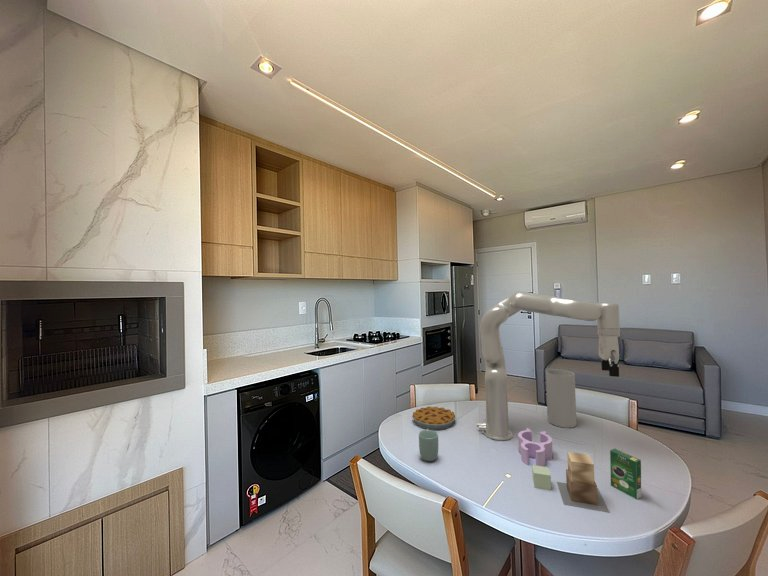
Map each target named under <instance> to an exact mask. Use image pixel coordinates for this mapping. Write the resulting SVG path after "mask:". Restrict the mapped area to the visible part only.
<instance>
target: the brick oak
mask: <svg viewBox="0 0 768 576" xmlns="http://www.w3.org/2000/svg"><path fill="white" fill-rule="evenodd" d="M566 455H567V469H568V472H569V474H570V477H571V479H572V481H577V482H583V483H589V484H595V483H596V481H595V464H594V462H593V460H592V459H591V457H590V455H589V454H586V453H577V452H569V451H567V453H566ZM594 481H595V482H594Z"/></svg>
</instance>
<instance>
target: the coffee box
mask: <svg viewBox="0 0 768 576" xmlns="http://www.w3.org/2000/svg"><path fill="white" fill-rule="evenodd" d="M609 451H610V452H609V455H610V457H609V458H610V459H609V461H610V463H609V464H610V465H609V466H610V467H609V469H610V486H611V487H613V489H614V488H615V489H616V490H618V491H620V492H622V493H624V494H625V495H628V496H629V497H631V498H633V499H634V500H638V499H641V497H642V460H641V459H639V458H637V457H635V456H632V455H630V454H629V453H626V452H624V451H622V450H619V449H617V448H612V449H610V450H609Z"/></svg>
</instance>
